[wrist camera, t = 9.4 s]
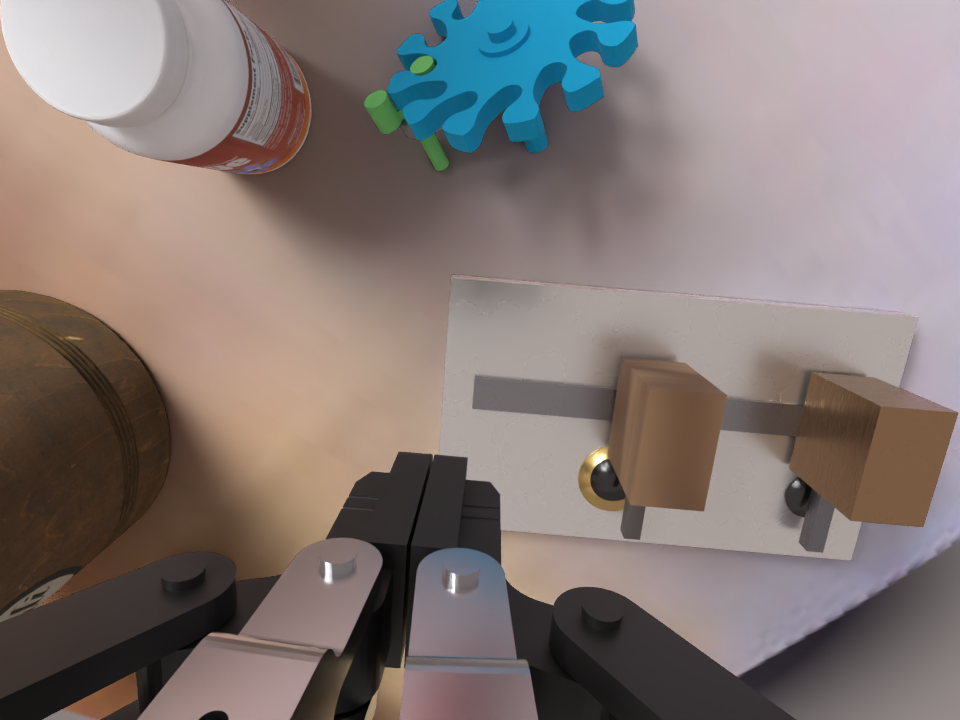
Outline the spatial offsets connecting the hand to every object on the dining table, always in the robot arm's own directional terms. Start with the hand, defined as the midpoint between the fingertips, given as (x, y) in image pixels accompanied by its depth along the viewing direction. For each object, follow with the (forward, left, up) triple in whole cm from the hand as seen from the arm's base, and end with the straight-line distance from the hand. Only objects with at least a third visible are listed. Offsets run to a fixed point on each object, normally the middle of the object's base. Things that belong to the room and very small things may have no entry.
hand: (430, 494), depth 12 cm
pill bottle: (-11, +10, -17) cm, 23 cm away
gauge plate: (+10, -4, -17) cm, 20 cm away
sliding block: (+9, -4, -15) cm, 18 cm away
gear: (0, +12, -17) cm, 21 cm away
